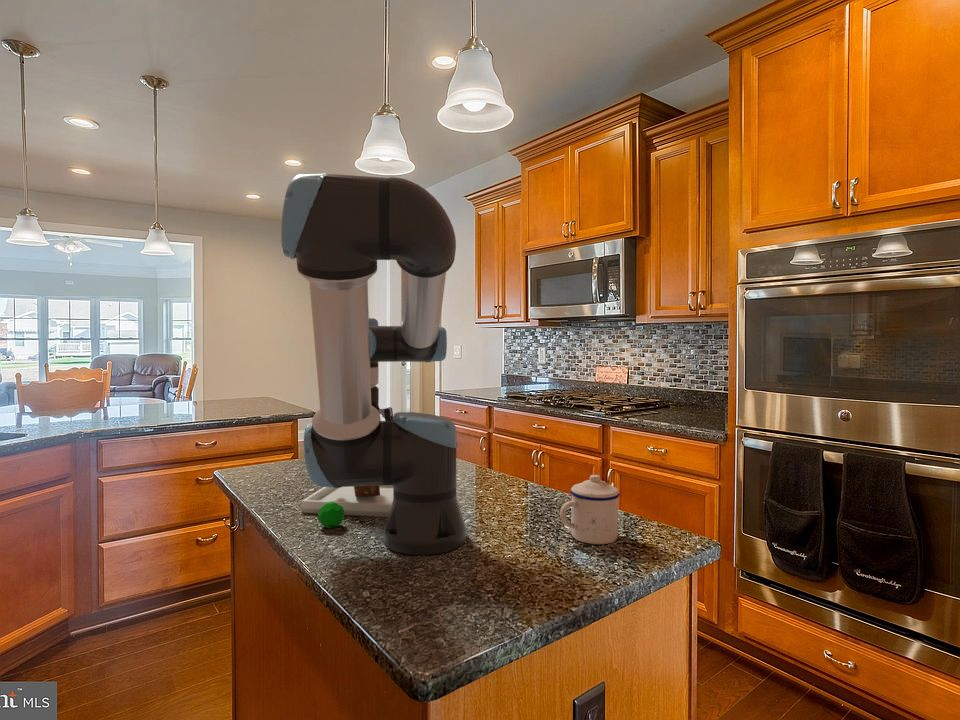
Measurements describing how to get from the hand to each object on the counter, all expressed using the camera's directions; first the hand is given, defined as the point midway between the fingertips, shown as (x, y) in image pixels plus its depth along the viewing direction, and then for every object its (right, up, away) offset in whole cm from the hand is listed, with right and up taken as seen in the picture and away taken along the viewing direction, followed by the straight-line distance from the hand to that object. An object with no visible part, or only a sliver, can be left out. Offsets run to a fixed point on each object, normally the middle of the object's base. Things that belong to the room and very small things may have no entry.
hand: (361, 478), depth 123 cm
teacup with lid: (+47, -6, -22) cm, 52 cm away
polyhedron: (-2, -6, -17) cm, 18 cm away
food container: (+1, -4, -1) cm, 4 cm away
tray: (0, -5, 0) cm, 5 cm away
